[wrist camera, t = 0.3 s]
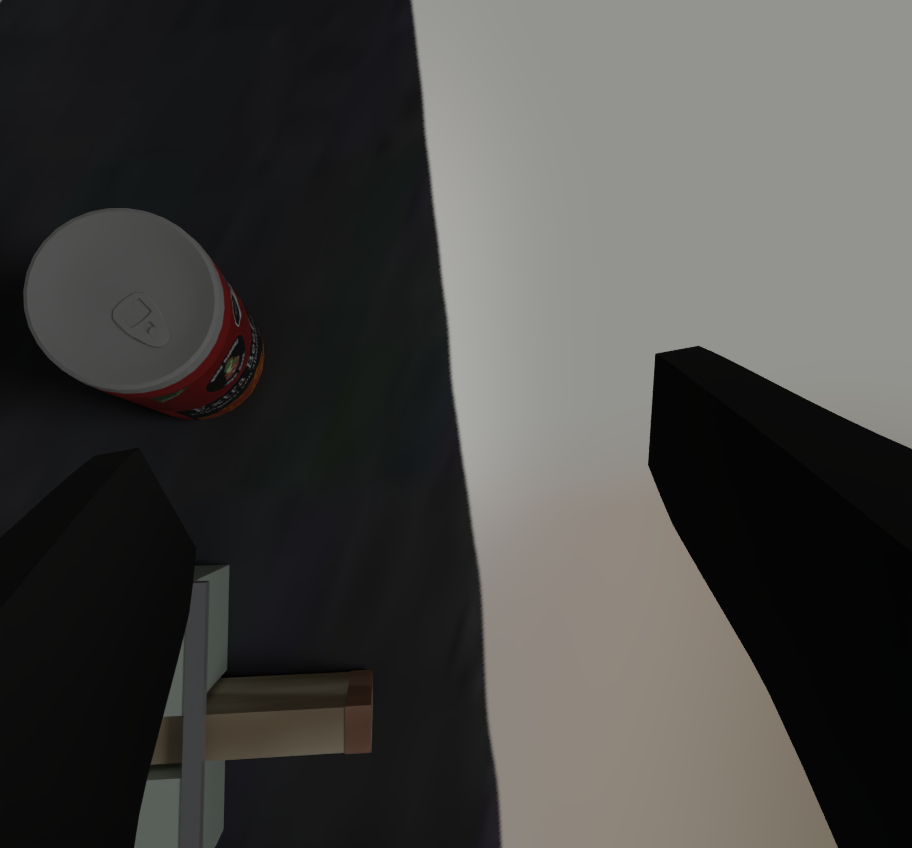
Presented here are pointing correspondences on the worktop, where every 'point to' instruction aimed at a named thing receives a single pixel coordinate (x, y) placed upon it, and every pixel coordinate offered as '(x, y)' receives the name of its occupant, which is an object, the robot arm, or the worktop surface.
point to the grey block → (192, 729)
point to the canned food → (142, 315)
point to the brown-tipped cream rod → (279, 717)
